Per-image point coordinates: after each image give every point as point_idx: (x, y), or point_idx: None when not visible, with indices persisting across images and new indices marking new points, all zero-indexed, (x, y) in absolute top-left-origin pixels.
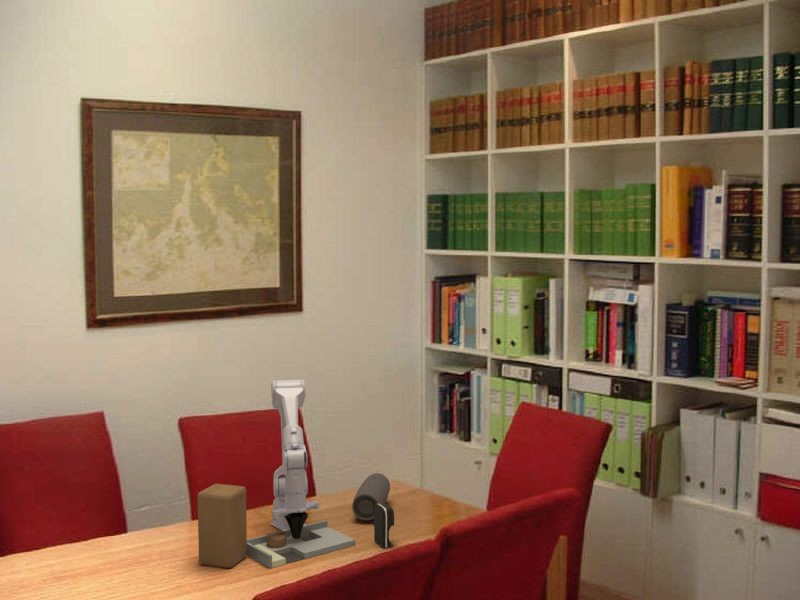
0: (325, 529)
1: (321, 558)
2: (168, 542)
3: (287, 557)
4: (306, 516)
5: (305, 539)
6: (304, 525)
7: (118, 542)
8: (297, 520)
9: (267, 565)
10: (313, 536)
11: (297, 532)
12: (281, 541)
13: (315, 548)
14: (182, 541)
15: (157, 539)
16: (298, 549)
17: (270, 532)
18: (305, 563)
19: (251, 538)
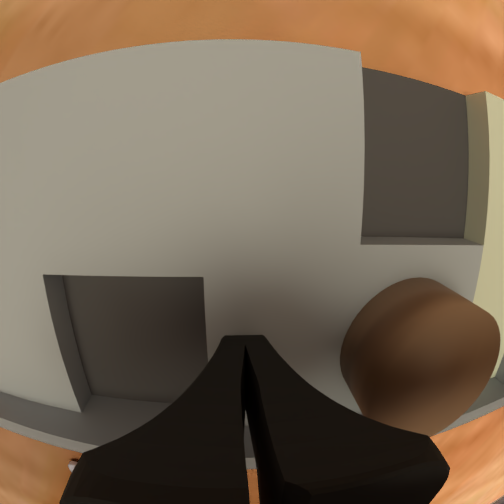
0: (3, 370)
1: (241, 5)
2: (479, 484)
3: (423, 161)
4: (107, 470)
5: (138, 371)
6: None
7: (501, 488)
8: (331, 448)
9: None
10: (80, 370)
11: (262, 359)
12: (444, 293)
13: (224, 73)
14: (465, 487)
15: (471, 498)
16: (356, 149)
17: (433, 430)
18: (373, 16)
19: (482, 415)
